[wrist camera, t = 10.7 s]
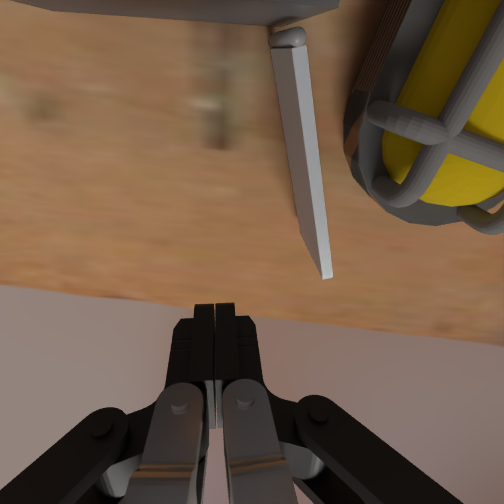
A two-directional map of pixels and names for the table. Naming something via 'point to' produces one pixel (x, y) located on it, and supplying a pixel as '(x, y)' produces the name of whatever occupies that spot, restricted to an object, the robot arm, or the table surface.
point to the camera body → (198, 9)
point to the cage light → (432, 113)
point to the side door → (301, 141)
